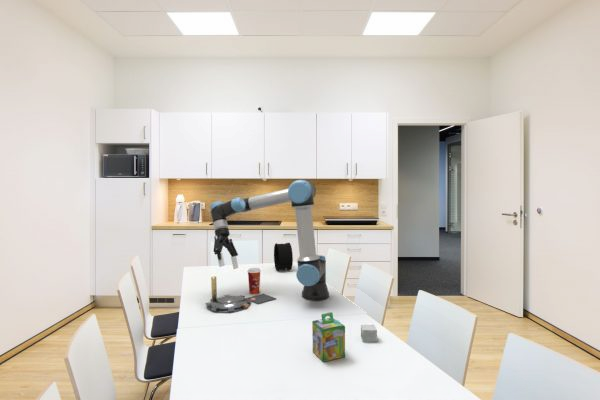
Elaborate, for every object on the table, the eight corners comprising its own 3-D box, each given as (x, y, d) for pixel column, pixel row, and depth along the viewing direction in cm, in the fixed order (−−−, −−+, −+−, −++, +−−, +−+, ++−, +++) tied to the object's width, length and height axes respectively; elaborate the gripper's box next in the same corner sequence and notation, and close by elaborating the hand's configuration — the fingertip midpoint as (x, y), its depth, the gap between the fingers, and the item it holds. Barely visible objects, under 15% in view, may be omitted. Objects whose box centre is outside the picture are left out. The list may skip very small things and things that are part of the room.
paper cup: (255, 295, 197) (255, 271, 197) (245, 293, 201) (244, 269, 201) (263, 292, 204) (263, 268, 203) (253, 290, 208) (253, 266, 207)
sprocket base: (258, 305, 180) (258, 304, 180) (220, 316, 166) (220, 315, 166) (236, 296, 197) (236, 295, 197) (199, 305, 182) (199, 304, 182)
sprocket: (259, 304, 180) (259, 278, 180) (220, 314, 165) (219, 287, 165) (236, 294, 197) (236, 271, 197) (198, 303, 182) (198, 278, 182)
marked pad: (276, 299, 190) (276, 297, 190) (258, 304, 183) (258, 302, 182) (263, 294, 199) (263, 293, 199) (245, 299, 191) (245, 297, 191)
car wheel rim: (292, 272, 251) (292, 244, 250) (279, 273, 248) (278, 245, 248) (286, 266, 270) (286, 240, 269) (274, 267, 268) (273, 241, 267)
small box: (360, 336, 142) (360, 324, 142) (374, 336, 142) (374, 324, 142) (362, 342, 137) (362, 330, 136) (377, 342, 136) (377, 330, 136)
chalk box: (323, 362, 121) (322, 320, 120) (311, 351, 129) (311, 311, 129) (346, 357, 125) (346, 316, 124) (333, 346, 133) (333, 308, 132)
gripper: (227, 235, 202) (235, 271, 194) (201, 227, 179) (209, 267, 172) (239, 231, 200) (247, 266, 192) (214, 222, 178) (222, 262, 170)
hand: (229, 267), depth 182 cm, fingers open, 13 cm apart
